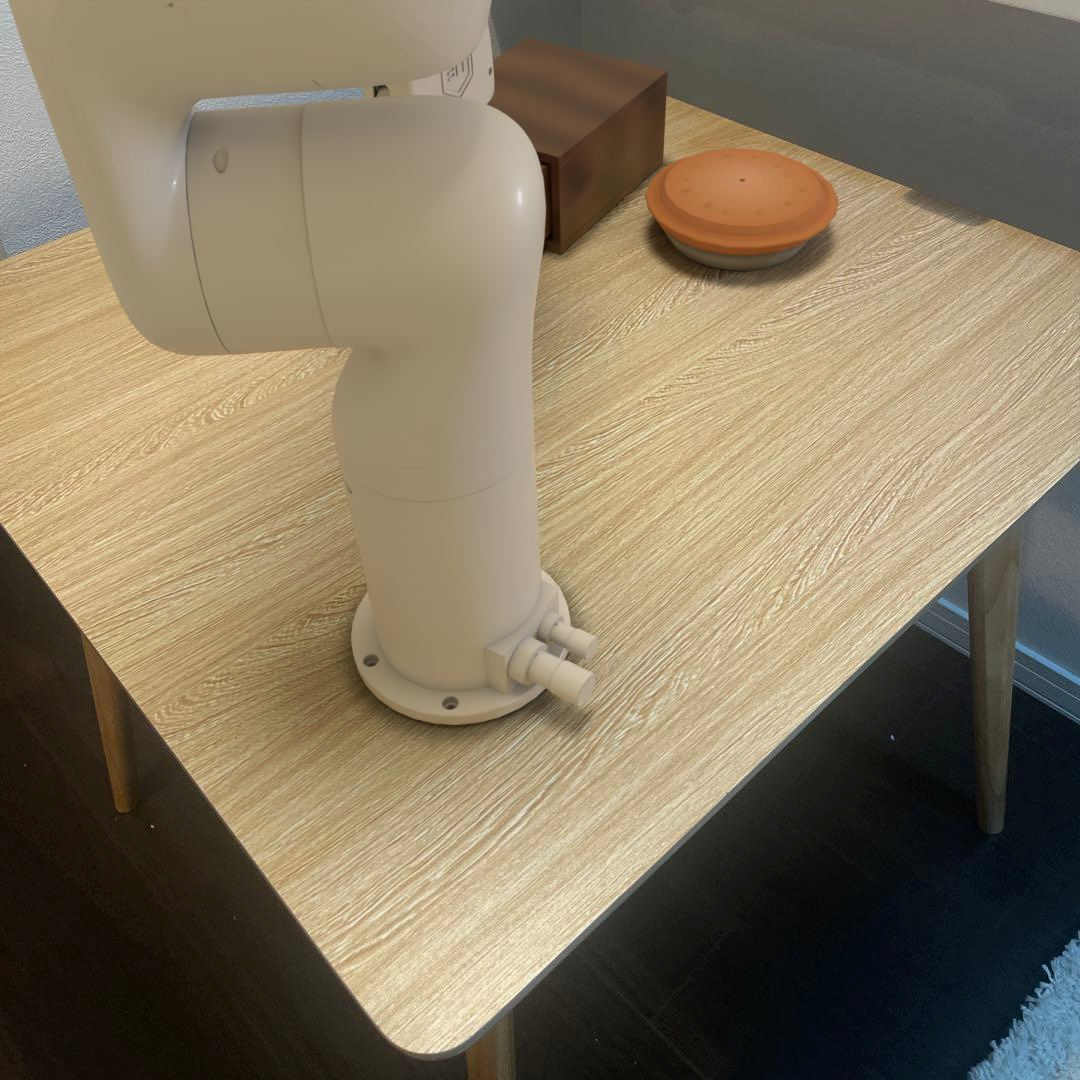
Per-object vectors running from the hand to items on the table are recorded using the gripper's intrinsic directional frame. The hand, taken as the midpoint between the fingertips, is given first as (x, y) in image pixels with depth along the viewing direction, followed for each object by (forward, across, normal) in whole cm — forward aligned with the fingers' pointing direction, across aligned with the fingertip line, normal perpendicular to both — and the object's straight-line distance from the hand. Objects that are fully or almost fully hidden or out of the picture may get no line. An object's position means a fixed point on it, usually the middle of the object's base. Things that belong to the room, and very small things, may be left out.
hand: (440, 201), depth 88 cm
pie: (+6, +16, -18) cm, 25 cm away
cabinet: (+6, +15, 0) cm, 16 cm away
